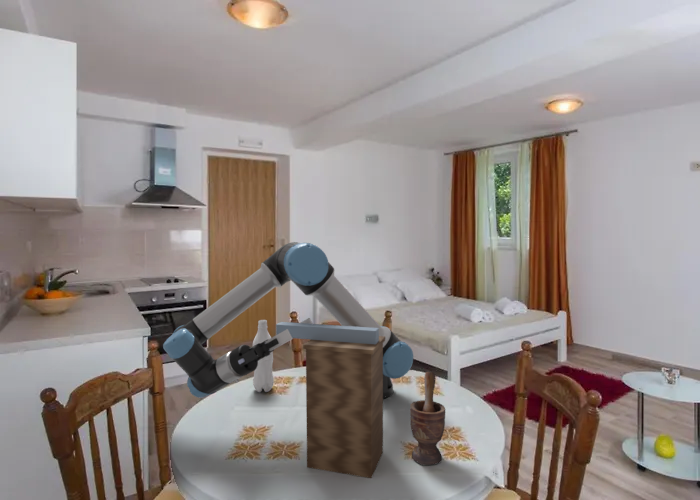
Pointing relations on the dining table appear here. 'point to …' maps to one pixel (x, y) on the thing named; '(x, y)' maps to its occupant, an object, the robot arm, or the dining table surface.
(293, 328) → the bar
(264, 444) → the dining table surface
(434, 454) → the mortar and pestle
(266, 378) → the water bottle
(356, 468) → the stand
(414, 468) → the dining table surface
